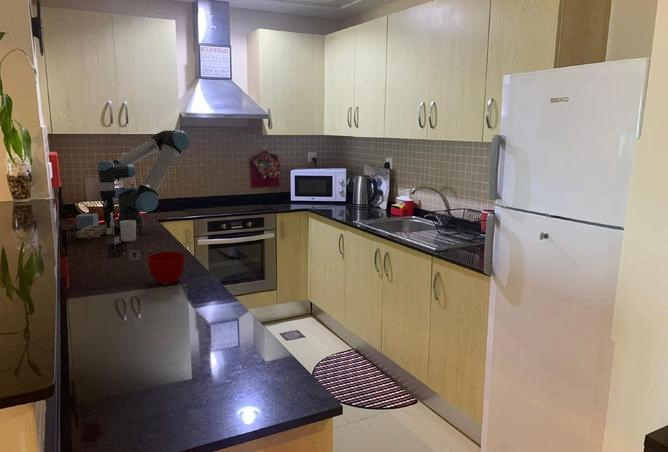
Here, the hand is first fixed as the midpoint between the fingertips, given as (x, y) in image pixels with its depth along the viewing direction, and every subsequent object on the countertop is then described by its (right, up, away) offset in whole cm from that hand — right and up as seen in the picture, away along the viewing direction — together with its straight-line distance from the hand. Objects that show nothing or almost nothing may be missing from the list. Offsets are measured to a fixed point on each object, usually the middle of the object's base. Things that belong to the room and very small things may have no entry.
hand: (110, 232), depth 269 cm
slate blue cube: (-21, +2, +19) cm, 28 cm away
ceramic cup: (+58, -17, -84) cm, 103 cm away
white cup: (+15, -4, -13) cm, 21 cm away
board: (-11, -1, +2) cm, 11 cm away
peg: (0, -1, 0) cm, 1 cm away
